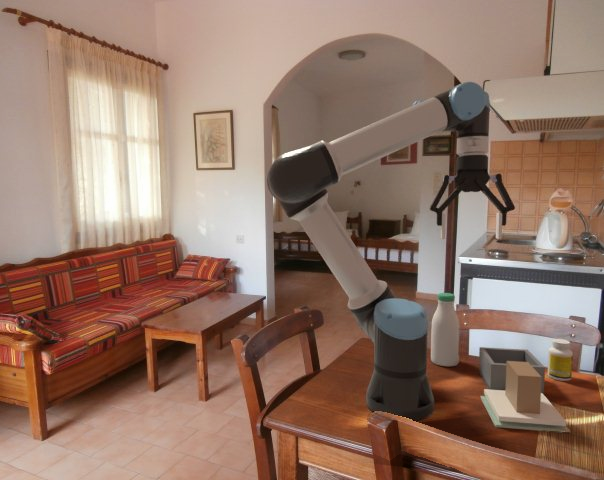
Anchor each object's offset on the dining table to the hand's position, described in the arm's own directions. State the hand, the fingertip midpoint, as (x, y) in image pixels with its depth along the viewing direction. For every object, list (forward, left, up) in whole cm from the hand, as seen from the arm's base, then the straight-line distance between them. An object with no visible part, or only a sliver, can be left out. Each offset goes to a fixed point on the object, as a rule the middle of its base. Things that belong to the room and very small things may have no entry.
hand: (470, 238), depth 108 cm
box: (+10, -3, -37) cm, 38 cm away
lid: (+8, -19, -36) cm, 42 cm away
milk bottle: (-4, +9, -37) cm, 38 cm away
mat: (+8, -19, -37) cm, 42 cm away
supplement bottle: (+24, +3, -37) cm, 44 cm away
